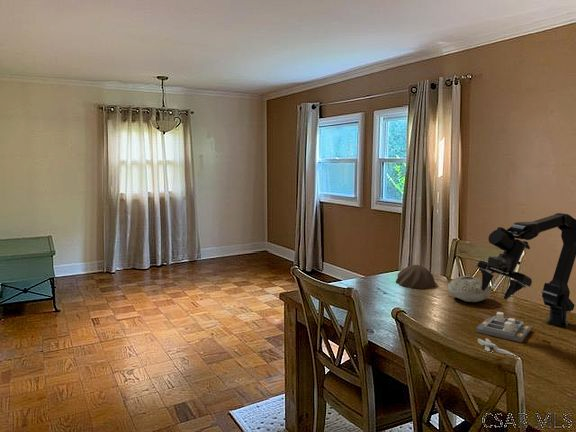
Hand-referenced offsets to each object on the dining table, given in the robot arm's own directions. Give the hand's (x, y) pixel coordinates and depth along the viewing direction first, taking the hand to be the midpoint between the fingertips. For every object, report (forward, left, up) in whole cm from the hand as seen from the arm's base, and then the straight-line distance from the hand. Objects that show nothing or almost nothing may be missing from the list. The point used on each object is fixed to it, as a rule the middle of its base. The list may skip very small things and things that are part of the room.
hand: (493, 294), depth 156 cm
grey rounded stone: (-35, -19, -15) cm, 43 cm away
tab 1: (-10, 0, -13) cm, 16 cm away
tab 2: (-1, +5, -13) cm, 14 cm away
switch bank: (-5, +3, -15) cm, 16 cm away
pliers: (+15, +5, -15) cm, 22 cm away
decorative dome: (-46, -49, -15) cm, 69 cm away
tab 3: (-5, +5, -13) cm, 15 cm away
